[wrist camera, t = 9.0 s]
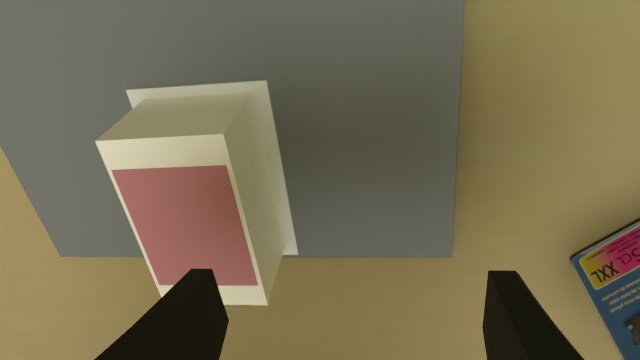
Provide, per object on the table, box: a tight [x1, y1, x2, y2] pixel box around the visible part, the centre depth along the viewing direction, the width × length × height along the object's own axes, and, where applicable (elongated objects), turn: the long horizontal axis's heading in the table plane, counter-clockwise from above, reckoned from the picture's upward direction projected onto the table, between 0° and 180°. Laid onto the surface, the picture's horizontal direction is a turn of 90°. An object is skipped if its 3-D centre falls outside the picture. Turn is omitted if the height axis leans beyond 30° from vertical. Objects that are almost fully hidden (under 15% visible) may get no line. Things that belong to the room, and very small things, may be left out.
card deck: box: [95, 92, 285, 305], centre depth 20 cm, size 5×8×4 cm, turn 7°
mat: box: [0, 0, 464, 258], centre depth 20 cm, size 18×22×1 cm
